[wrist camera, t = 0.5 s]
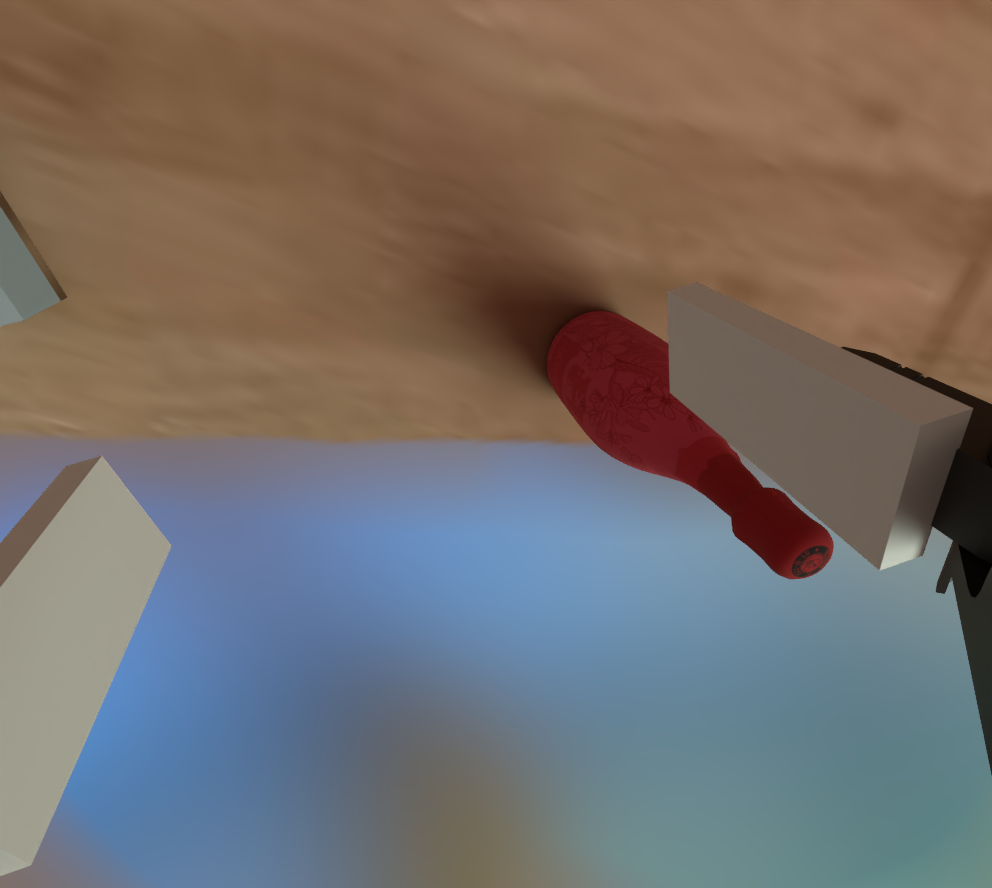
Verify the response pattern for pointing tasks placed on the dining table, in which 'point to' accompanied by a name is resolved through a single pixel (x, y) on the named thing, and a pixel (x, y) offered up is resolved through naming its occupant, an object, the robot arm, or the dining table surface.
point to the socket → (20, 278)
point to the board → (31, 247)
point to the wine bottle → (673, 436)
